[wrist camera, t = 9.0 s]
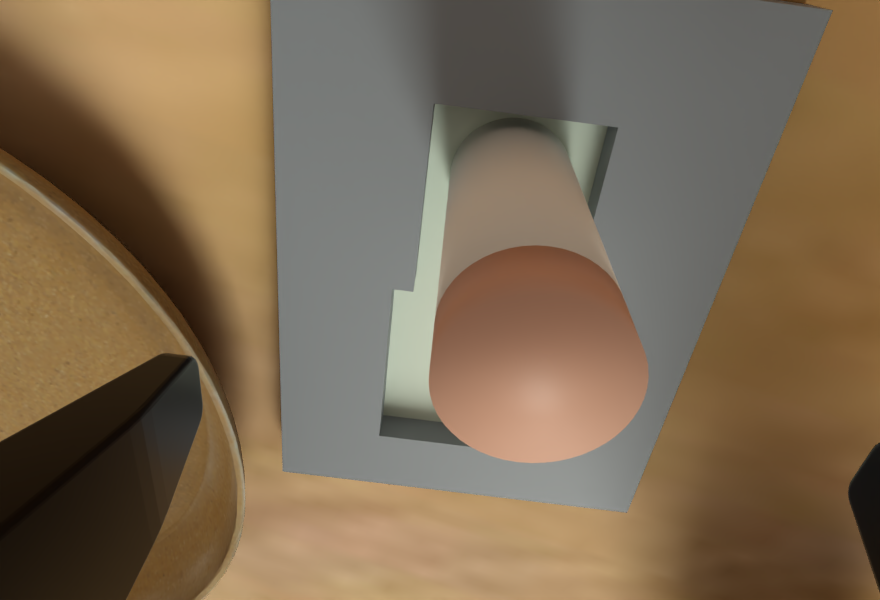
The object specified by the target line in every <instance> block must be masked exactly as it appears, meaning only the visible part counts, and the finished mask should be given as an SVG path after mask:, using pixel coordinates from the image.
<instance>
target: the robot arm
mask: <svg viewBox="0 0 880 600" xmlns="http://www.w3.org/2000/svg"><path fill="white" fill-rule="evenodd" d="M202 411H203V401H202V393H201V384H200V375H199V367H198V363H197V361H196V359H195V358H194V357H192V356H189V355H180V354H172V353H162V354H160V355H157V356H155V357H154V358H152V359H150V360H148V361H146V362H144V363H143V364H141V365H139V366H137V367H135V368H133V369H132V370H130V371H128V372H126V373H124V374H122V375H121V376H119V377H117V378H115V379H113V380H112V381H110V382H108V383H106V384H104V385H102V386H101V387H99V388H97V389H95V390H93V391H91V392H90V393H88V394H86V395H84V396H82V397H81V398H79V399H77V400H75V401H73V402H71V403H70V404H68V405H66V406H64V407H62V408H60V409H59V410H57V411H55V412H53V413H51V414H49V415H48V416H46V417H44V418H42V419H40V420H39V421H37V422H35V423H33V424H31V425H29V426H28V427H26V428H24V429H22V430H20V431H18V432H17V433H15V434H13V435H11V436H9V437H7V438H6V439H4V440H2V441H0V600H126V599H127V597H128V595H129V593H130V591H131V589H132V587H133V585H134V583H135V581H136V579H137V577H138V575H139V573H140V571H141V569H142V567H143V565H144V563H145V561H146V559H147V557H148V555H149V553H150V551H151V549H152V547H153V545H154V543H155V541H156V538H157V536H158V534H159V532H160V530H161V528H162V525H163V523H164V520H165V518H166V515H167V512H168V510H169V507H170V504H171V502H172V499H173V496H174V493H175V491H176V488H177V485H178V482H179V480H180V477H181V474H182V471H183V469H184V466H185V463H186V460H187V458H188V455H189V452H190V449H191V447H192V444H193V441H194V438H195V435H196V433H197V430H198V427H199V424H200V421H201V417H202ZM848 495H849V501H850V505H851V508H852V511H853V514H854V517H855V520H856V523H857V526H858V529H859V532H860V535H861V538H862V541H863V544H864V547H865V550H866V553H867V556H868V559H869V562H870V565H871V568H872V571H873V574H874V577H875V580H876V583H877V586H878V589H879V592H880V443H878V444H877V445H875V447H874V448H873V449H872V450H871V452H870V453H869V455H868V456H867V458H866V459H865V461H864V462H863V464H862V465H861V467H860V468H859V470H858V471H857V473H856V474H855V476H854V477H853V479H852V480H851V482H850V485H849V491H848Z"/></svg>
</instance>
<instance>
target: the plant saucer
mask: <svg viewBox="0 0 880 600" xmlns="http://www.w3.org/2000/svg"><path fill="white" fill-rule="evenodd" d="M162 353H172V354H180V355H189V356H192V357H194V358H195V359H196V361H197V363H198V367H199V375H200V384H201V393H202V401H203V411H202V417H201V421H200V424H199V427H198V430H197V433H196V435H195V438H194V441H193V444H192V447H191V449H190V452H189V455H188V458H187V460H186V463H185V466H184V469H183V471H182V474H181V477H180V480H179V482H178V485H177V488H176V491H175V493H174V496H173V499H172V502H171V504H170V507H169V510H168V512H167V515H166V518H165V520H164V523H163V525H162V528H161V530H160V532H159V534H158V536H157V538H156V541H155V543H154V545H153V547H152V549H151V551H150V553H149V555H148V557H147V559H146V561H145V563H144V565H143V567H142V569H141V571H140V573H139V575H138V577H137V579H136V581H135V583H134V585H133V587H132V589H131V591H130V593H129V595H128V597H127V599H126V600H203V599H204V598H205V597H206V596H207V595H208V594H209V593H210V592H211V591H212V590H213V588H214V587H215V586H216V585H217V584H218V582H219V581H220V580H221V578H222V577H223V575H224V574H225V572H226V571H227V569H228V567H229V565H230V563H231V561H232V559H233V557H234V555H235V552H236V550H237V547H238V544H239V541H240V537H241V533H242V528H243V522H244V514H245V477H244V467H243V460H242V453H241V446H240V442H239V438H238V434H237V430H236V426H235V422H234V418H233V415H232V412H231V410H230V407H229V404H228V401H227V399H226V396H225V394H224V391H223V389H222V386H221V384H220V381H219V379H218V377H217V375H216V373H215V370H214V368H213V366H212V364H211V362H210V361H209V359H208V357H207V355H206V353H205V352H204V350H203V348H202V346H201V344H200V343H199V341H198V339H197V338H196V336H195V335H194V333H193V331H192V330H191V328H190V327H189V325H188V324H187V322H186V321H185V319H184V318H183V316H182V315H181V313H180V312H179V310H178V309H177V308H176V306H175V305H174V304H173V302H172V301H171V300H170V298H169V297H168V296H167V294H166V293H165V292H164V291H163V290H162V288H161V287H160V286H159V285H158V284H157V282H156V281H155V280H154V279H153V278H152V276H151V275H150V274H149V273H148V272H147V271H146V269H145V268H144V267H143V266H142V265H141V264H140V263H139V262H138V260H137V259H136V258H135V257H134V256H133V255H132V254H131V253H130V252H129V251H128V250H127V249H126V248H125V247H124V246H123V245H122V244H121V243H120V242H119V241H118V240H117V239H116V238H115V237H114V236H113V235H112V234H111V233H110V232H109V231H108V230H106V229H105V228H104V227H103V226H102V225H101V224H100V223H99V222H98V221H97V220H96V219H94V218H93V217H92V216H91V215H90V214H89V213H88V212H86V211H85V210H84V209H83V208H82V207H81V206H79V205H78V204H77V203H76V202H74V201H73V200H72V199H71V198H69V197H68V196H67V195H66V194H64V193H63V192H62V191H61V190H59V189H58V188H57V187H55V186H54V185H53V184H52V183H50V182H49V181H48V180H46V179H45V178H43V177H42V176H41V175H39V174H38V173H36V172H35V171H33V170H32V169H31V168H29V167H28V166H26V165H25V164H23V163H22V162H20V161H19V160H18V159H16V158H15V157H13V156H11V155H10V154H8V153H7V152H5V151H3V150H2V149H0V441H2V440H4V439H6V438H7V437H9V436H11V435H13V434H15V433H17V432H18V431H20V430H22V429H24V428H26V427H28V426H29V425H31V424H33V423H35V422H37V421H39V420H40V419H42V418H44V417H46V416H48V415H49V414H51V413H53V412H55V411H57V410H59V409H60V408H62V407H64V406H66V405H68V404H70V403H71V402H73V401H75V400H77V399H79V398H81V397H82V396H84V395H86V394H88V393H90V392H91V391H93V390H95V389H97V388H99V387H101V386H102V385H104V384H106V383H108V382H110V381H112V380H113V379H115V378H117V377H119V376H121V375H122V374H124V373H126V372H128V371H130V370H132V369H133V368H135V367H137V366H139V365H141V364H143V363H144V362H146V361H148V360H150V359H152V358H154V357H155V356H157V355H160V354H162Z"/></svg>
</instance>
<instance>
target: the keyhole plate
mask: <svg viewBox="0 0 880 600" xmlns="http://www.w3.org/2000/svg"><path fill="white" fill-rule="evenodd" d="M270 2H271V40H272V78H273V117H274V155H275V193H276V231H277V269H278V308H279V346H280V384H281V422H282V460H283V471H284V472H292V473H301V474H309V475H317V476H326V477H334V478H342V479H351V480H359V481H368V482H376V483H384V484H393V485H401V486H409V487H418V488H426V489H434V490H443V491H451V492H459V493H468V494H476V495H484V496H493V497H501V498H509V499H518V500H526V501H534V502H543V503H551V504H559V505H568V506H576V507H584V508H593V509H601V510H610V511H618V512H626V513H627V511H628V509H629V507H630V504H631V502H632V499H633V497H634V494H635V492H636V489H637V487H638V485H639V482H640V480H641V477H642V475H643V472H644V470H645V467H646V465H647V463H648V460H649V458H650V455H651V453H652V450H653V448H654V445H655V443H656V441H657V438H658V436H659V433H660V431H661V428H662V426H663V424H664V421H665V419H666V416H667V414H668V411H669V409H670V406H671V404H672V402H673V399H674V397H675V394H676V392H677V389H678V387H679V384H680V382H681V380H682V377H683V375H684V372H685V370H686V367H687V365H688V362H689V360H690V358H691V355H692V353H693V350H694V348H695V345H696V343H697V341H698V338H699V336H700V333H701V331H702V328H703V326H704V323H705V321H706V319H707V316H708V314H709V311H710V309H711V306H712V304H713V301H714V299H715V297H716V294H717V292H718V289H719V287H720V284H721V282H722V279H723V277H724V275H725V272H726V270H727V267H728V265H729V262H730V260H731V258H732V255H733V253H734V250H735V248H736V245H737V243H738V240H739V238H740V236H741V233H742V231H743V228H744V226H745V223H746V221H747V218H748V216H749V214H750V211H751V209H752V206H753V204H754V201H755V199H756V196H757V194H758V192H759V189H760V187H761V184H762V182H763V179H764V177H765V175H766V172H767V170H768V167H769V165H770V162H771V160H772V157H773V155H774V153H775V150H776V148H777V145H778V143H779V140H780V138H781V135H782V133H783V131H784V128H785V126H786V123H787V121H788V118H789V116H790V113H791V111H792V109H793V106H794V104H795V101H796V99H797V96H798V94H799V92H800V89H801V87H802V84H803V82H804V79H805V77H806V74H807V72H808V70H809V67H810V65H811V62H812V60H813V57H814V55H815V52H816V50H817V48H818V45H819V43H820V40H821V38H822V35H823V33H824V30H825V28H826V26H827V23H828V21H829V18H830V16H831V13H832V11H833V10H829V9H825V8H821V7H817V6H813V5H808V4H802V3H795V2H787V1H780V0H270ZM503 118H523V119H528V120H531V121H534V122H537V123H539V124H541V125H543V126H545V127H546V128H548V129H549V130H551V131H552V132H553V133H554V134H555V135H556V136H557V137H558V138H559V140H560V141H561V142H562V144H563V145H564V147H565V149H566V151H567V154H568V156H569V159H570V161H571V164H572V166H573V169H574V171H575V174H576V177H577V179H578V182H579V184H580V187H581V189H582V192H583V195H584V197H585V200H586V202H587V205H588V207H589V210H590V213H591V215H592V218H593V220H594V223H595V225H596V228H597V231H598V233H599V236H600V238H601V241H602V243H603V246H604V248H605V251H606V254H607V256H608V259H609V261H610V264H611V266H612V269H613V272H614V274H615V277H616V279H617V282H618V284H619V287H620V290H621V292H622V295H623V297H624V300H625V302H626V305H627V307H628V310H629V313H630V315H631V318H632V320H633V323H634V325H635V328H636V331H637V333H638V336H639V338H640V341H641V343H642V346H643V349H644V351H645V354H646V358H647V362H648V373H649V378H648V386H647V391H646V394H645V397H644V400H643V402H642V404H641V406H640V409H639V410H638V412H637V413H636V415H635V416H634V418H633V419H632V420H631V422H630V423H629V424H628V425H627V426H626V427H625V428H624V429H623V430H622V431H621V432H620V433H619V434H618V435H616V436H615V437H614V438H612V439H611V440H610V441H608V442H607V443H605V444H603V445H602V446H600V447H598V448H596V449H594V450H592V451H590V452H587V453H585V454H583V455H580V456H576V457H573V458H570V459H565V460H561V461H555V462H546V463H523V462H514V461H508V460H503V459H499V458H496V457H492V456H489V455H487V454H484V453H482V452H480V451H478V450H476V449H474V448H472V447H470V446H468V445H467V444H465V443H464V442H462V441H461V440H460V439H458V438H457V437H456V436H455V435H454V434H453V433H451V432H450V430H449V429H448V428H447V427H446V426H445V425H444V424H443V422H442V421H441V419H440V418H439V416H438V415H437V412H436V410H435V408H434V406H433V403H432V400H431V396H430V391H429V369H430V359H431V350H432V340H433V331H434V322H435V312H436V303H437V293H438V284H439V274H440V265H441V255H442V246H443V237H444V227H445V218H446V208H447V199H448V189H449V180H450V170H451V165H452V162H453V159H454V156H455V154H456V152H457V150H458V148H459V147H460V145H461V144H462V142H463V141H464V140H465V139H466V138H467V137H468V136H469V135H470V134H471V133H472V132H473V131H474V130H476V129H478V128H479V127H481V126H482V125H484V124H487V123H489V122H492V121H495V120H498V119H503Z"/></svg>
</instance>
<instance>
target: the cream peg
mask: <svg viewBox="0 0 880 600" xmlns="http://www.w3.org/2000/svg"><path fill="white" fill-rule="evenodd" d="M648 378H649V373H648V362H647V358H646V354H645V351H644V349H643V346H642V343H641V341H640V338H639V336H638V333H637V331H636V328H635V325H634V323H633V320H632V318H631V315H630V313H629V310H628V307H627V305H626V302H625V300H624V297H623V295H622V292H621V290H620V287H619V284H618V282H617V279H616V277H615V274H614V272H613V269H612V266H611V264H610V261H609V259H608V256H607V254H606V251H605V248H604V246H603V243H602V241H601V238H600V236H599V233H598V231H597V228H596V225H595V223H594V220H593V218H592V215H591V213H590V210H589V207H588V205H587V202H586V200H585V197H584V195H583V192H582V189H581V187H580V184H579V182H578V179H577V177H576V174H575V171H574V169H573V166H572V164H571V161H570V159H569V156H568V154H567V151H566V149H565V147H564V145H563V144H562V142H561V141H560V140H559V138H558V137H557V136H556V135H555V134H554V133H553V132H552V131H551V130H549V129H548V128H546V127H545V126H543V125H541V124H539V123H537V122H534V121H531V120H528V119H523V118H503V119H498V120H495V121H492V122H489V123H487V124H484V125H482V126H481V127H479V128H478V129H476V130H474V131H473V132H472V133H471V134H470V135H469V136H468V137H467V138H466V139H465V140H464V141H463V142H462V144H461V145H460V147H459V148H458V150H457V152H456V154H455V156H454V159H453V162H452V165H451V170H450V180H449V189H448V199H447V208H446V218H445V227H444V237H443V246H442V255H441V265H440V274H439V284H438V293H437V303H436V312H435V322H434V331H433V340H432V350H431V359H430V369H429V391H430V396H431V400H432V403H433V406H434V408H435V410H436V412H437V415H438V416H439V418H440V419H441V421H442V422H443V424H444V425H445V426H446V427H447V428H448V429H449V430H450V432H451V433H453V434H454V435H455V436H456V437H457V438H458V439H460V440H461V441H462V442H464V443H465V444H467V445H468V446H470V447H472V448H474V449H476V450H478V451H480V452H482V453H484V454H487V455H489V456H492V457H496V458H499V459H503V460H508V461H514V462H523V463H546V462H555V461H561V460H565V459H570V458H573V457H576V456H580V455H583V454H585V453H587V452H590V451H592V450H594V449H596V448H598V447H600V446H602V445H603V444H605V443H607V442H608V441H610V440H611V439H612V438H614V437H615V436H616V435H618V434H619V433H620V432H621V431H622V430H623V429H624V428H625V427H626V426H627V425H628V424H629V423H630V422H631V420H632V419H633V418H634V416H635V415H636V413H637V412H638V410H639V409H640V406H641V404H642V402H643V400H644V397H645V394H646V391H647V386H648Z"/></svg>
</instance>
